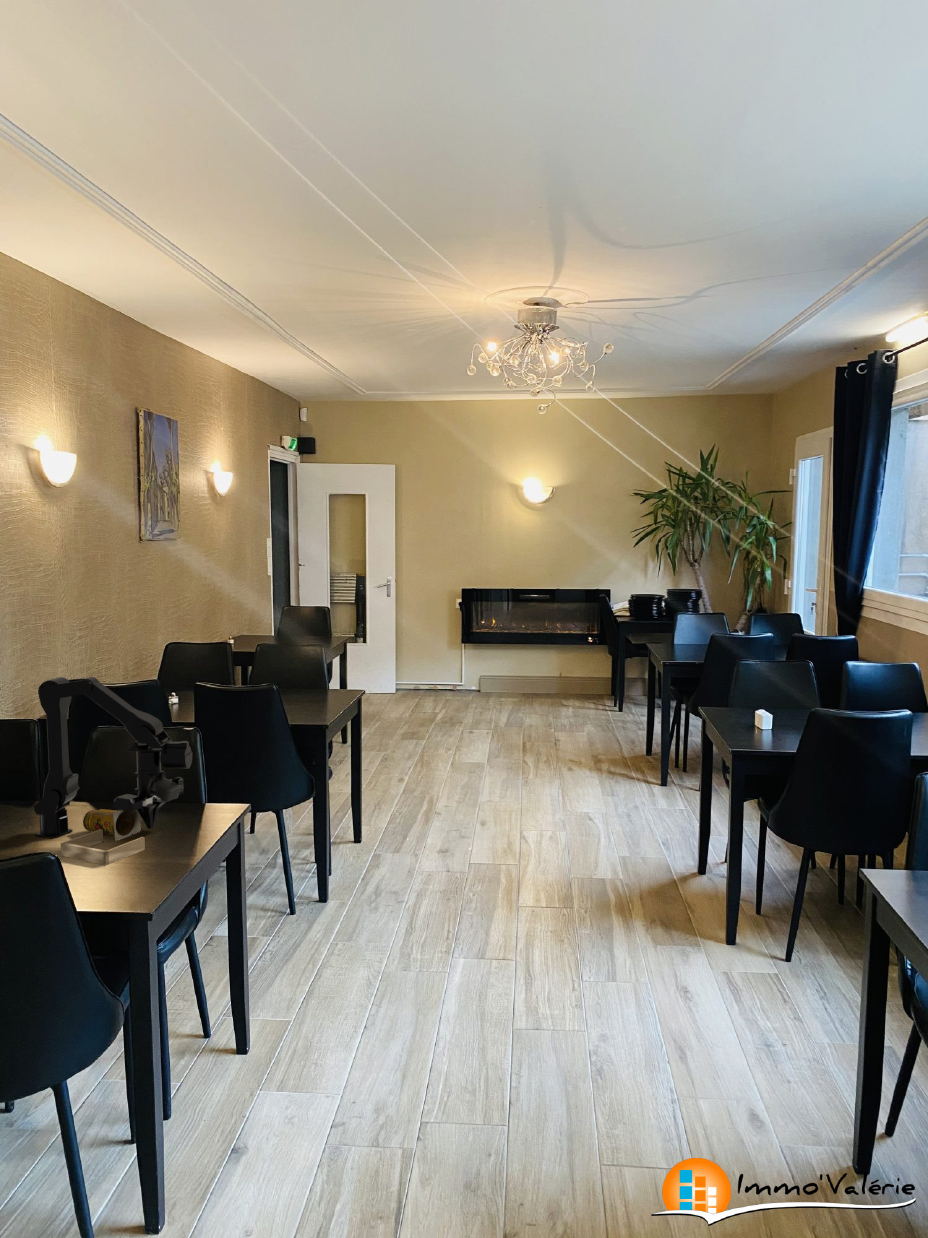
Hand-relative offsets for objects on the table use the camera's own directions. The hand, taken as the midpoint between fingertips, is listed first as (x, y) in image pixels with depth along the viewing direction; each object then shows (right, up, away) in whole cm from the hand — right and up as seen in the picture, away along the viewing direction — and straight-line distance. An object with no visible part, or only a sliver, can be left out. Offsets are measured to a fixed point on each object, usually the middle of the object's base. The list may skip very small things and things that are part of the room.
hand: (150, 828), depth 227 cm
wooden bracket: (-6, -3, -14) cm, 15 cm away
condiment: (-5, +2, -2) cm, 6 cm away
